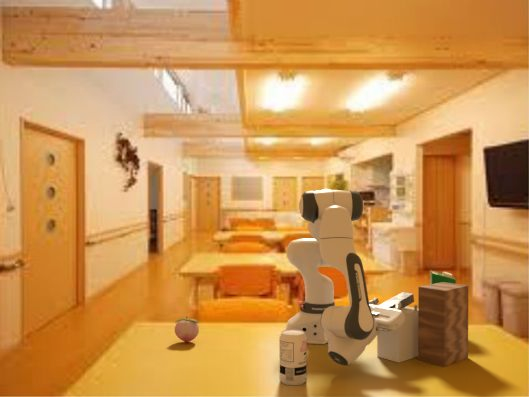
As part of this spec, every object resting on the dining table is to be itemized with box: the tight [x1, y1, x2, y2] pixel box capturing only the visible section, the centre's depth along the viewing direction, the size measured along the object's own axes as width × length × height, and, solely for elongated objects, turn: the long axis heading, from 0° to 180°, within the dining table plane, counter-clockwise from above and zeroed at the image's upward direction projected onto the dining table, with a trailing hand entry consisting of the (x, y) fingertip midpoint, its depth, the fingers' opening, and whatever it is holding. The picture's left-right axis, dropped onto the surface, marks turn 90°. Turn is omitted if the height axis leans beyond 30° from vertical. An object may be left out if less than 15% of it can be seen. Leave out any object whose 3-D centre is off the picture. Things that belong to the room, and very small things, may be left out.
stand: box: [417, 282, 469, 368], centre depth 198 cm, size 15×10×25 cm, turn 131°
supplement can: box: [279, 329, 308, 386], centre depth 175 cm, size 8×8×15 cm
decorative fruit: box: [174, 316, 200, 343], centre depth 219 cm, size 9×8×10 cm
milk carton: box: [429, 270, 457, 285], centre depth 232 cm, size 9×9×25 cm
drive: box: [372, 291, 415, 317], centre depth 198 cm, size 22×4×3 cm, turn 133°
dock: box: [376, 304, 418, 363], centre depth 202 cm, size 14×9×18 cm, turn 131°
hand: (387, 301), depth 197 cm, fingers open, 8 cm apart
